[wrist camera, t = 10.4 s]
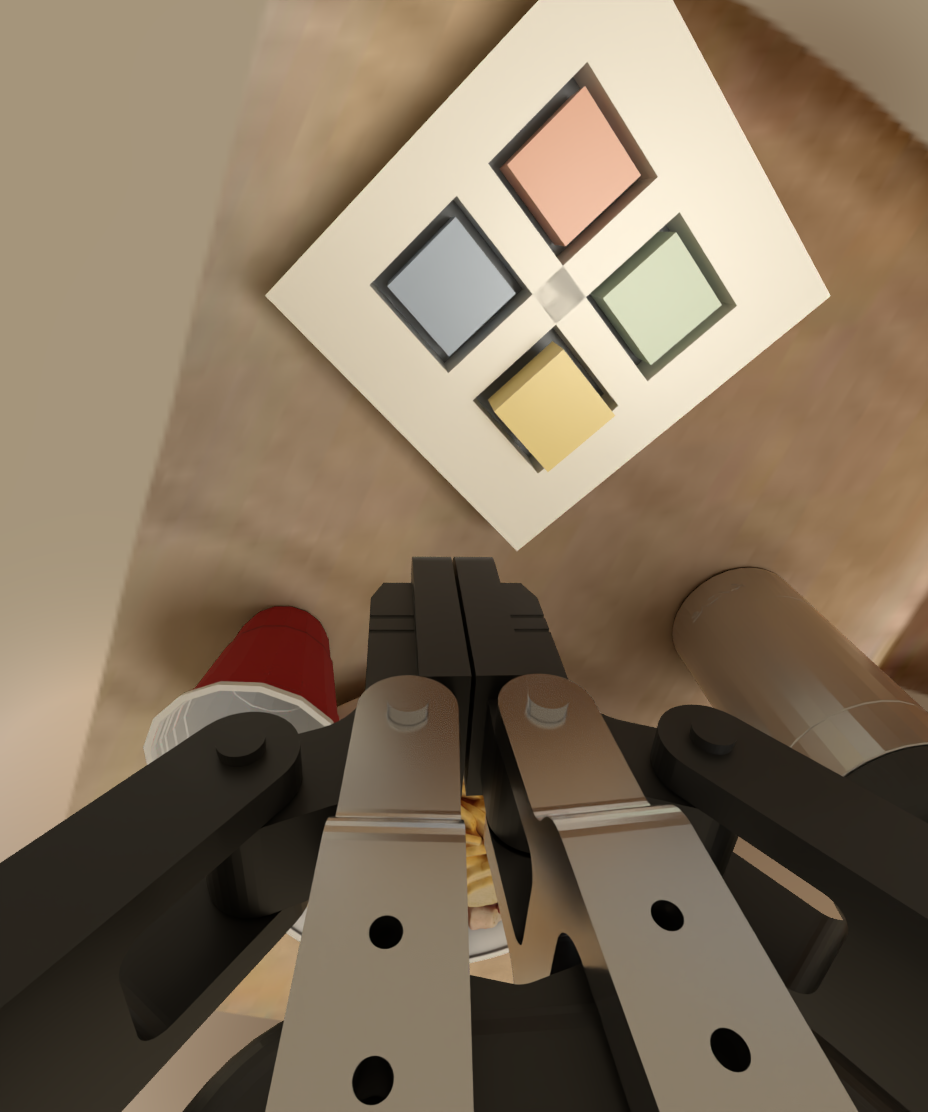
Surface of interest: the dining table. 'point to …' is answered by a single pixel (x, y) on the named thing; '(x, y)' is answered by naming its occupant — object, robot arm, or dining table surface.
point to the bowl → (480, 888)
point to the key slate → (451, 286)
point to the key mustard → (550, 406)
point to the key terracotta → (570, 169)
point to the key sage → (656, 297)
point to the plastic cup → (257, 680)
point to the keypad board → (556, 256)
